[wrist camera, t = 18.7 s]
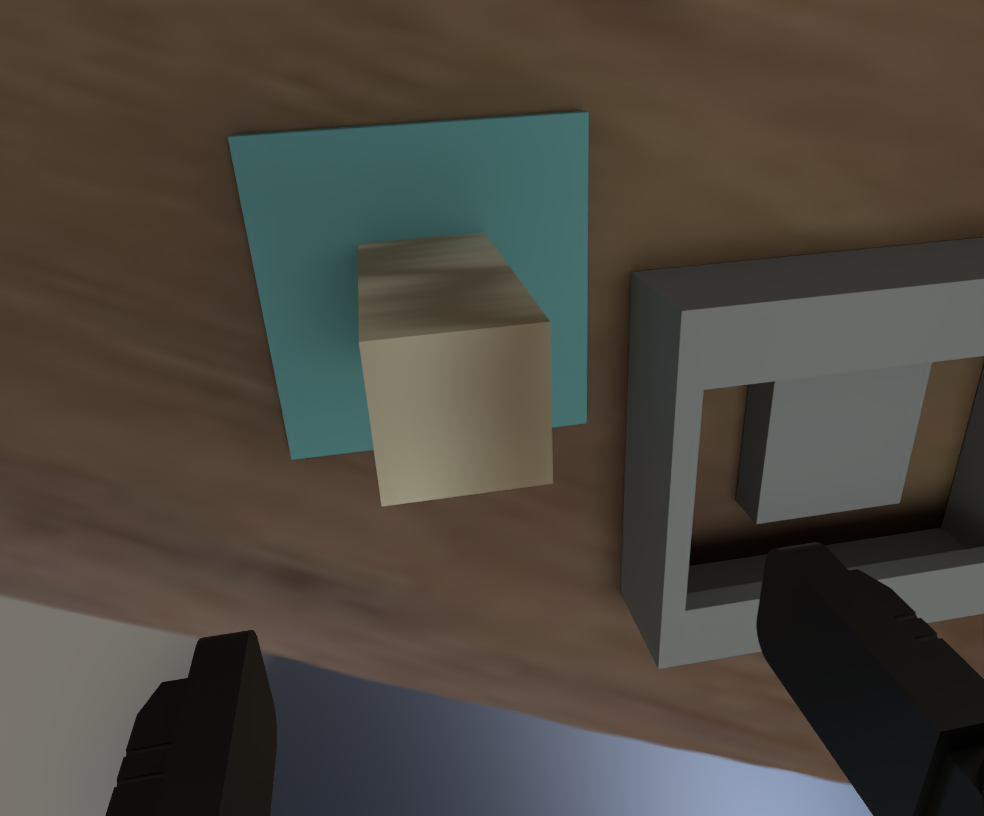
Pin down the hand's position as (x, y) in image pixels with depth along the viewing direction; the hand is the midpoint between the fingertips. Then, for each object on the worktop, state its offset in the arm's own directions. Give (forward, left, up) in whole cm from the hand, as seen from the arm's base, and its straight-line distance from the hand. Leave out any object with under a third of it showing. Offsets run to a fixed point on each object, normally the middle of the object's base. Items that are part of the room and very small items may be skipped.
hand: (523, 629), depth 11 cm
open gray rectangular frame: (+17, -8, -18) cm, 26 cm away
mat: (0, 0, -18) cm, 18 cm away
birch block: (0, 0, -18) cm, 18 cm away
